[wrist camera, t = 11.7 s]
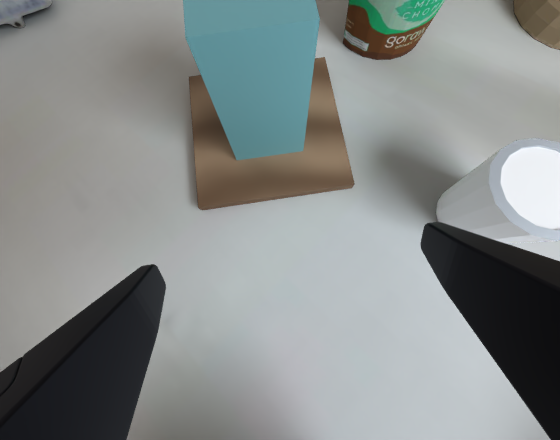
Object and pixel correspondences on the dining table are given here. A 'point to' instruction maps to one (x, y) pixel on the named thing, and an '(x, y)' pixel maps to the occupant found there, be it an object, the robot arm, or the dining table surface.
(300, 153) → the stub base
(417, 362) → the dining table surface
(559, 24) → the oil lamp
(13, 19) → the grey storage box
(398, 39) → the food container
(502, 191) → the white short cylinder
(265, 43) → the teal square pillar
